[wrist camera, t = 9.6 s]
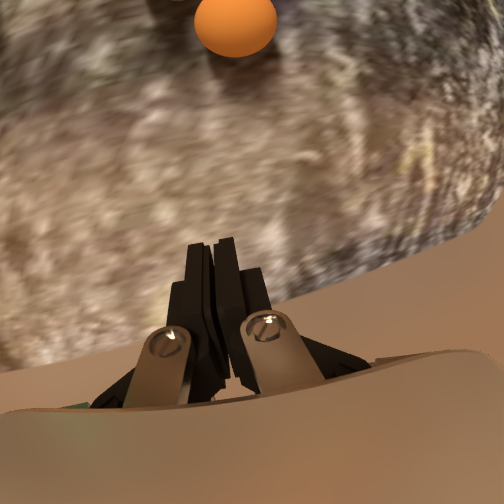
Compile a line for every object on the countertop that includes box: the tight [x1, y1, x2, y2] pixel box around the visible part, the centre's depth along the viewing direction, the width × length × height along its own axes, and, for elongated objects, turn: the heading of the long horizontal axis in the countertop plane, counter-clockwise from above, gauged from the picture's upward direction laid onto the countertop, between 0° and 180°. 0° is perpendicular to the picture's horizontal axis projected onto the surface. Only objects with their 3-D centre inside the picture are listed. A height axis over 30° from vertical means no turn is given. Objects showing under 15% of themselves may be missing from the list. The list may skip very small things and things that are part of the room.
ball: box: [194, 0, 277, 57], centre depth 18 cm, size 6×6×6 cm
